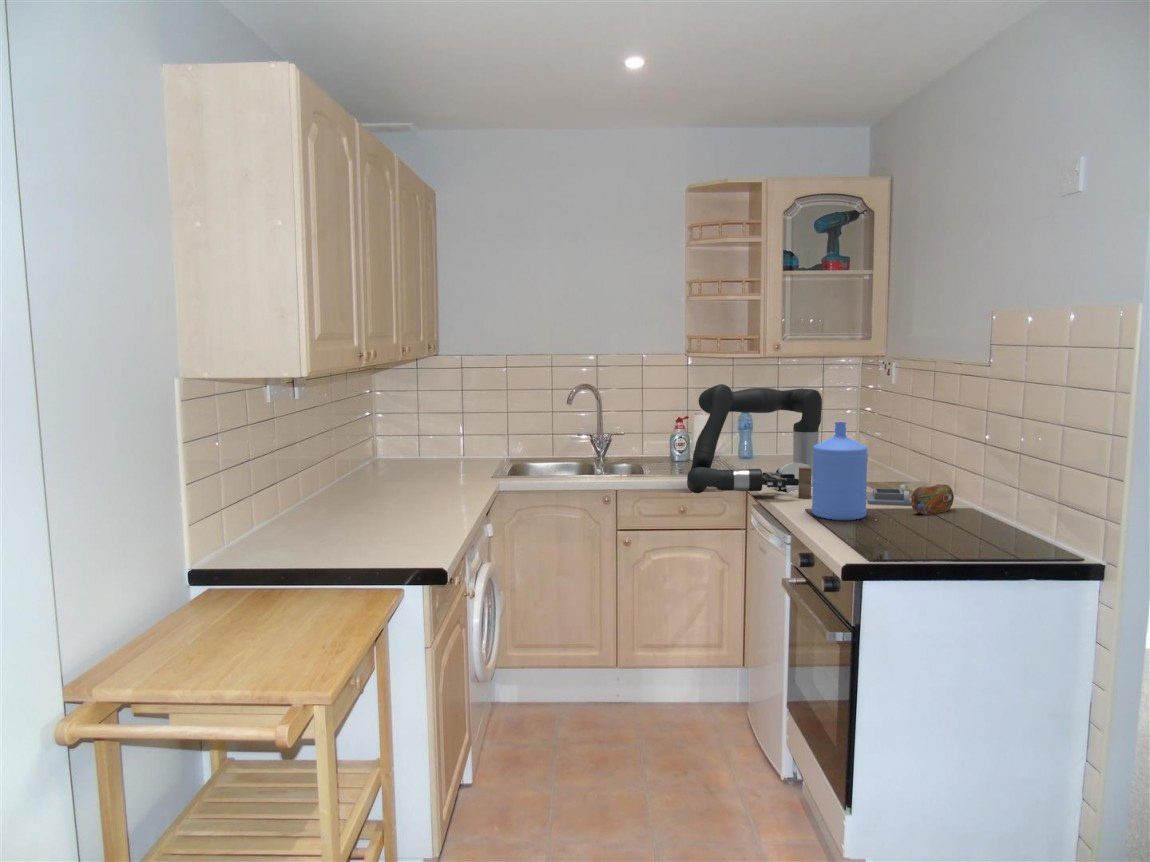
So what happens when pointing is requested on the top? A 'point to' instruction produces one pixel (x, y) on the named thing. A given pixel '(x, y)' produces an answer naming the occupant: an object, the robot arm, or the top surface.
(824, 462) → the water jug
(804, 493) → the block
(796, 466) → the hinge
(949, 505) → the tin
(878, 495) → the seat board
